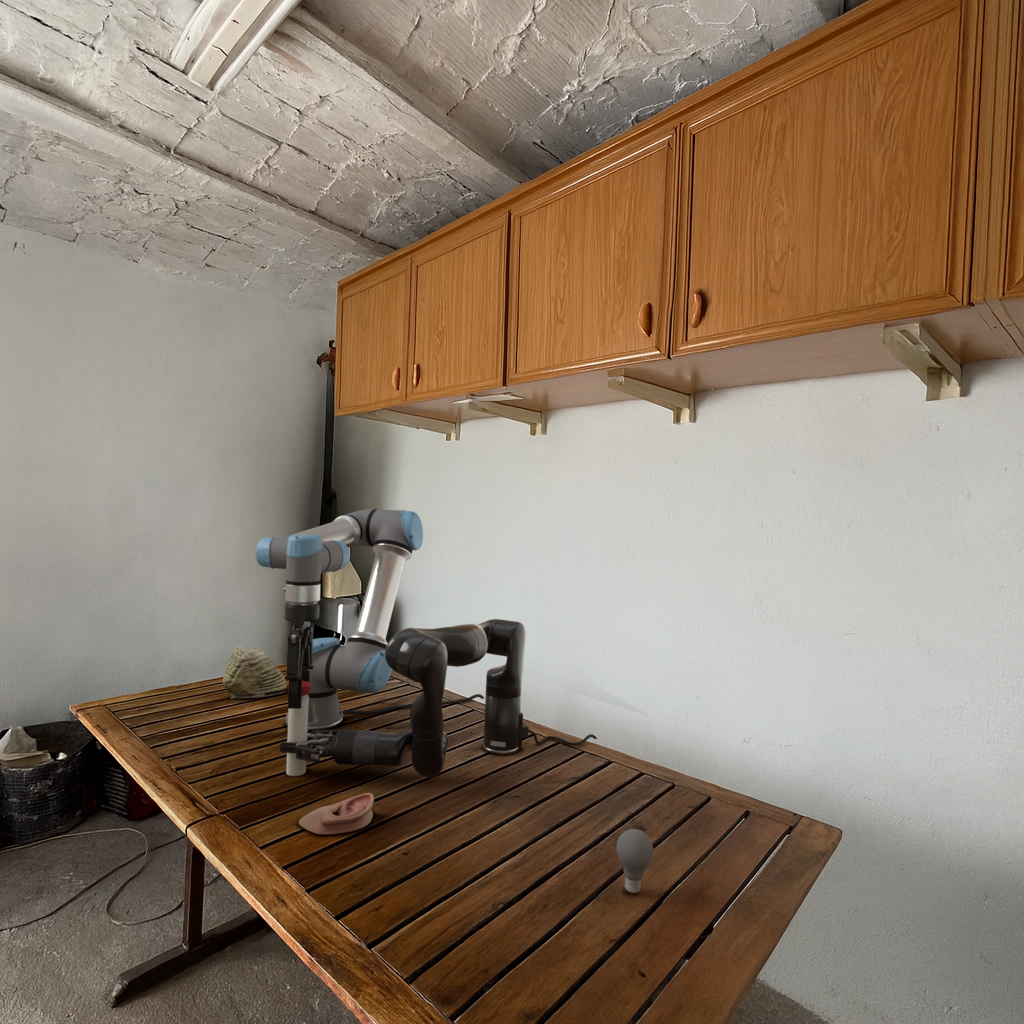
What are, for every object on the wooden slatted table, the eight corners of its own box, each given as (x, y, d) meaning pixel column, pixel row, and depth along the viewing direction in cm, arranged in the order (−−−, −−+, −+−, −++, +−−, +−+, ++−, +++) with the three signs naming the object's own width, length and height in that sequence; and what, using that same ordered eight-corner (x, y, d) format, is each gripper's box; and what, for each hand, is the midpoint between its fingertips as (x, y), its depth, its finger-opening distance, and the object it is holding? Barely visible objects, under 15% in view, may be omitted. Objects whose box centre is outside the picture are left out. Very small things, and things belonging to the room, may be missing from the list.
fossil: (218, 695, 195) (220, 647, 195) (278, 685, 208) (279, 640, 207) (228, 703, 189) (230, 653, 188) (289, 692, 201) (290, 645, 201)
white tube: (304, 767, 148) (307, 684, 147) (306, 774, 144) (310, 690, 144) (285, 769, 146) (288, 686, 146) (287, 777, 142) (290, 691, 142)
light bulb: (610, 879, 108) (613, 822, 108) (644, 879, 109) (647, 822, 109) (619, 902, 102) (622, 840, 102) (655, 901, 103) (658, 840, 103)
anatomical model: (290, 809, 120) (320, 783, 131) (289, 830, 120) (320, 802, 131) (355, 819, 117) (381, 791, 128) (355, 840, 117) (380, 811, 128)
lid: (306, 689, 148) (306, 679, 148) (312, 694, 144) (313, 685, 144) (285, 691, 145) (285, 682, 145) (291, 697, 141) (291, 688, 141)
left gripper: (296, 595, 154) (293, 690, 154) (272, 609, 134) (268, 717, 135) (328, 596, 154) (324, 690, 154) (308, 610, 135) (304, 717, 135)
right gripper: (368, 720, 151) (297, 716, 152) (350, 743, 137) (272, 738, 138) (366, 751, 151) (296, 747, 152) (348, 777, 137) (271, 772, 138)
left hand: (298, 702), depth 145 cm, fingers open, 6 cm apart
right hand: (285, 742), depth 145 cm, fingers closed on white tube, 4 cm apart
